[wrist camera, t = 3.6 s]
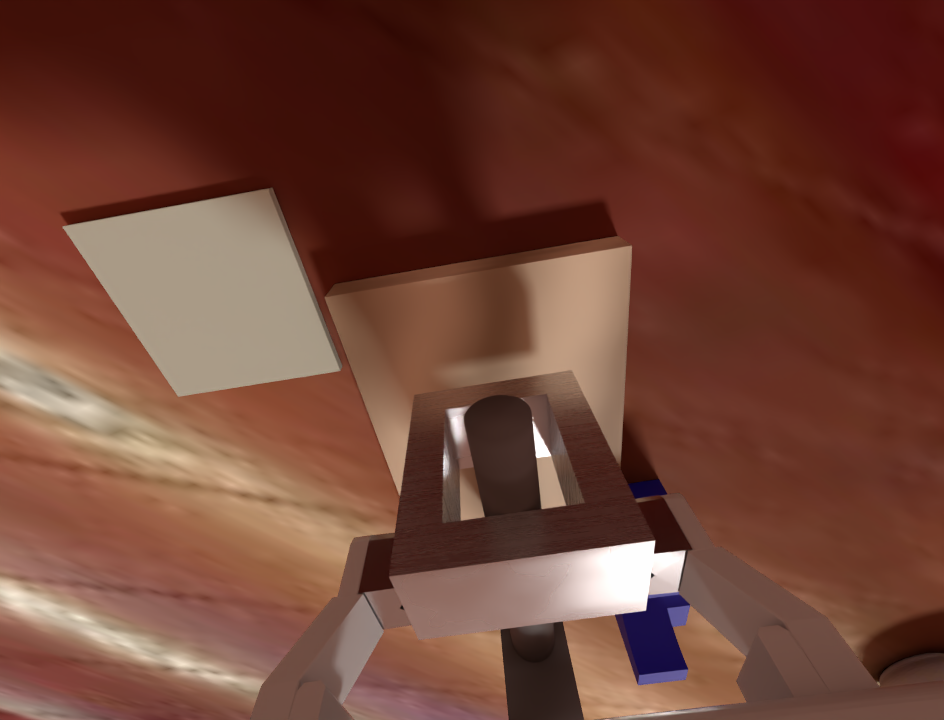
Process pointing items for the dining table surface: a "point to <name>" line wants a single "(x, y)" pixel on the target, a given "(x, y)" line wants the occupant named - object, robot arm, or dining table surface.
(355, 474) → the dining table surface
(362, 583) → the robot arm
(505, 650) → the hook rack
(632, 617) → the blue notched block
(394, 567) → the pinkish grey hollow block
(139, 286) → the felt pad
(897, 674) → the teacup
